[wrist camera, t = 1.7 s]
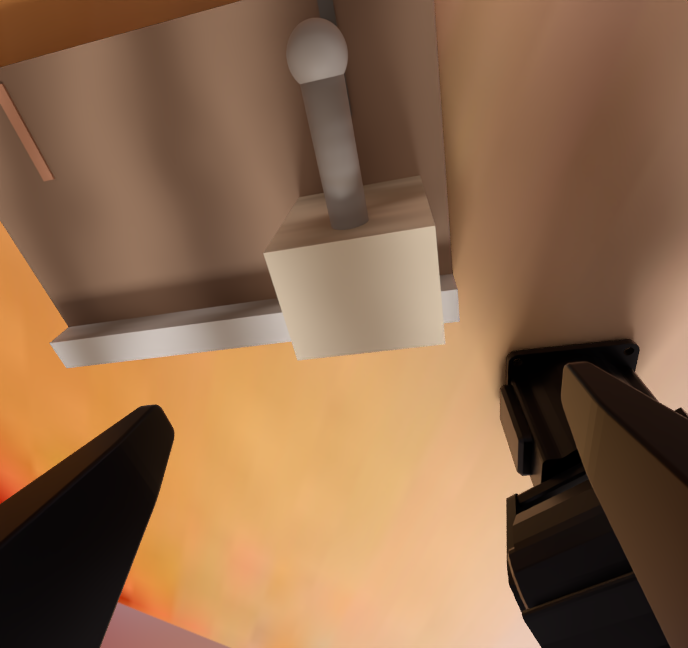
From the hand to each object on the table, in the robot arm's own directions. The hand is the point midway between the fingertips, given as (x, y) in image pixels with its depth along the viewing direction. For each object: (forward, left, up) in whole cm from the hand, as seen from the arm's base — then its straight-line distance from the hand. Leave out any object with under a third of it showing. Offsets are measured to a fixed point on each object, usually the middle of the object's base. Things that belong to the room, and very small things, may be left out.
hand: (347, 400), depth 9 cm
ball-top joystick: (0, -3, -10) cm, 11 cm away
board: (+6, -2, -12) cm, 14 cm away
